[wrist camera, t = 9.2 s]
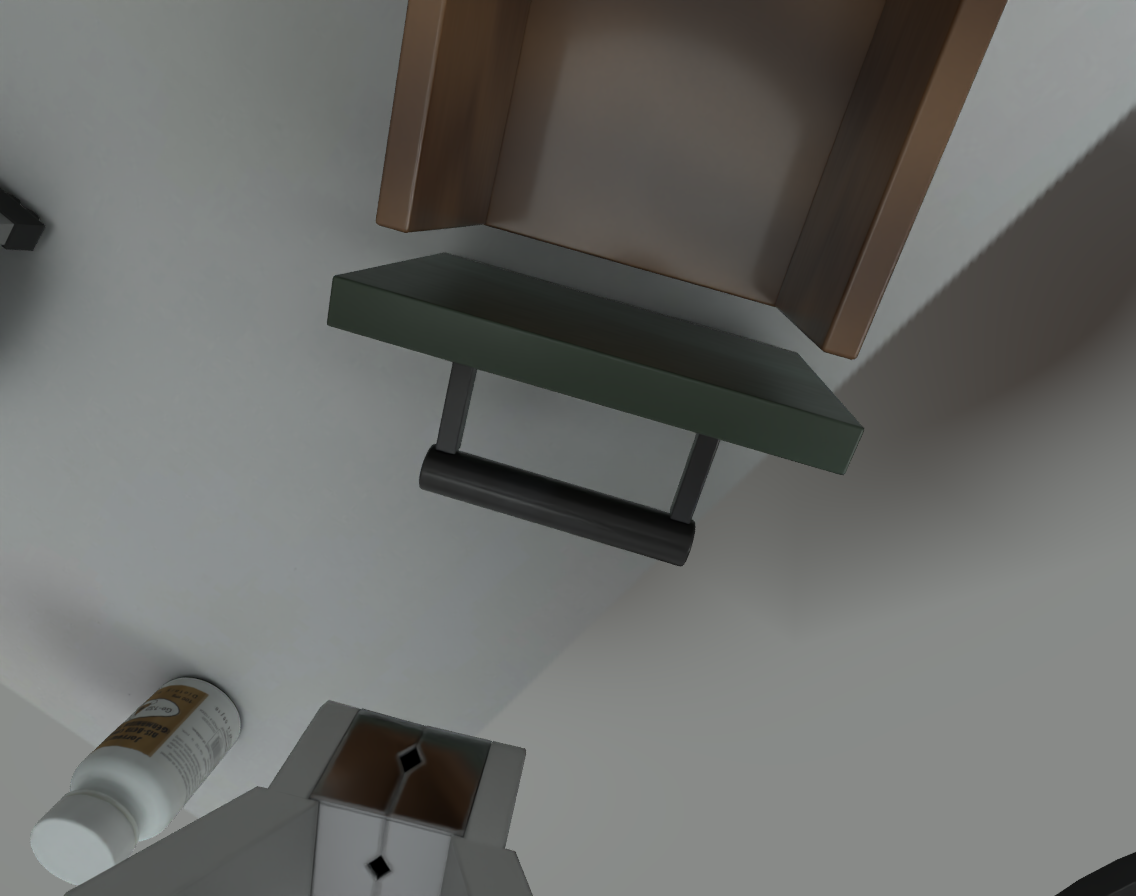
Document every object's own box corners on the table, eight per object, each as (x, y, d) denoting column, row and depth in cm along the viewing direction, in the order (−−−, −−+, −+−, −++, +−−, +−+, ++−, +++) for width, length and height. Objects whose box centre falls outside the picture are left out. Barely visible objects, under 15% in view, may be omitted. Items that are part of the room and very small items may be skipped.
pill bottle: (204, 660, 32) (68, 794, 25) (261, 730, 33) (147, 878, 26) (140, 693, 33) (-7, 830, 26) (197, 760, 34) (71, 909, 27)
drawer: (736, 512, 25) (768, 650, 17) (412, 416, 25) (301, 509, 18) (1021, -221, 17) (1307, -565, 10) (553, -338, 18) (466, -754, 10)
